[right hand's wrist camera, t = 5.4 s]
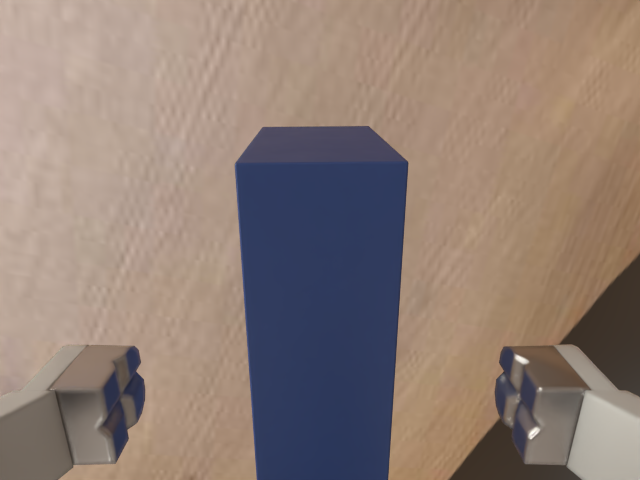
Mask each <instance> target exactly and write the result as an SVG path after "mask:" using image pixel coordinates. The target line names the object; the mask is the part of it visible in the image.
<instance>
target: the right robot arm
mask: <svg viewBox="0 0 640 480" xmlns="http://www.w3.org/2000/svg"><path fill="white" fill-rule="evenodd" d="M140 363H141V360H140V355H139V350H138V349H137V348H136V347H135V346H115V345H67V346H63V347H62V348H61V349H60V350H59V351H58V352H57V353H56V354H55V355H54V356H53V357H52V358H51V359H50V361H49V362H48V363H47V364H46V365H45V366H44V367H43V368H42V369H41V370H40V371H39V372H38V373H37V374H36V375H35V376H34V377H33V378H32V379H31V381H30V382H29V383H28V384H27V385H26V386H25V387H24V388H23V389H22V390H21V391H12V392H9V393H7V394H5V395H3V396H1V397H0V480H58V479H59V478H61V477H62V476H63V475H64V474H65V473H67V472H68V471H69V470H70V469H72V468H73V465H90V464H116V462H117V460H118V458H119V456H120V454H121V452H122V450H123V449H124V447H125V445H126V443H127V441H128V439H129V438H128V432H127V430H128V429H129V428H130V427H132V426H133V425H135V424H136V423H137V422H138V420H139V418H140V416H141V414H142V410H143V406H144V402H145V385H144V379H143V378H142V377H141V376H140V375H139V374H138V373H137V372H136V370H137V368H138V367H139V365H140ZM499 363H500V365H501V367H502V368H503V370H504V372H503V373H502V374H501V375H500V376H499V377H498V378H497V379H496V386H495V401H496V407H497V410H498V413H499V416H500V418H501V420H502V422H503V423H504V424H505V425H507V426H508V427H510V428H511V429H512V430H513V432H512V438H511V439H512V441H513V443H514V445H515V447H516V449H517V450H518V452H519V454H520V456H521V458H522V460H523V461H524V463H525V464H550V465H567V467H568V468H569V469H570V470H571V471H572V472H574V473H575V474H576V475H577V476H579V477H580V478H581V479H582V480H640V397H639V396H637V395H635V394H633V393H631V392H629V391H619V390H618V389H617V388H616V387H615V386H614V385H613V384H612V383H611V382H610V381H609V379H608V378H607V377H606V376H605V375H604V374H603V373H602V372H601V371H600V370H599V369H598V368H597V367H596V366H595V365H594V364H593V363H592V361H591V360H590V359H589V358H588V357H587V356H586V355H585V354H584V353H583V352H582V351H581V350H580V349H579V348H578V347H576V346H574V345H549V346H509V347H503V349H502V351H501V354H500V360H499Z"/></svg>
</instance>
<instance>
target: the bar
mask: <svg viewBox="0 0 640 480" xmlns="http://www.w3.org/2000/svg"><path fill="white" fill-rule="evenodd" d="M235 175H236V189H237V203H238V218H239V232H240V246H241V260H242V274H243V289H244V303H245V317H246V331H247V346H248V360H249V374H250V388H251V402H252V417H253V431H254V445H255V459H256V474H257V480H388V473H389V457H390V441H391V426H392V410H393V395H394V379H395V363H396V348H397V332H398V316H399V301H400V285H401V269H402V254H403V238H404V222H405V207H406V191H407V175H408V161H407V160H405V159H404V158H403V157H402V156H401V155H400V154H399V153H398V152H397V151H395V150H394V149H393V148H392V147H391V146H390V145H389V144H388V143H387V142H385V141H384V140H383V139H382V138H381V137H380V136H379V135H378V134H377V133H376V132H374V131H373V130H372V129H371V128H370V127H369V126H340V127H263V128H262V129H261V130H260V131H259V133H258V134H257V135H256V137H255V138H254V139H253V141H252V142H251V143H250V145H249V146H248V147H247V149H246V150H245V151H244V153H243V154H242V155H241V156H240V158H239V159H238V160H237V162H236V163H235Z"/></svg>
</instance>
